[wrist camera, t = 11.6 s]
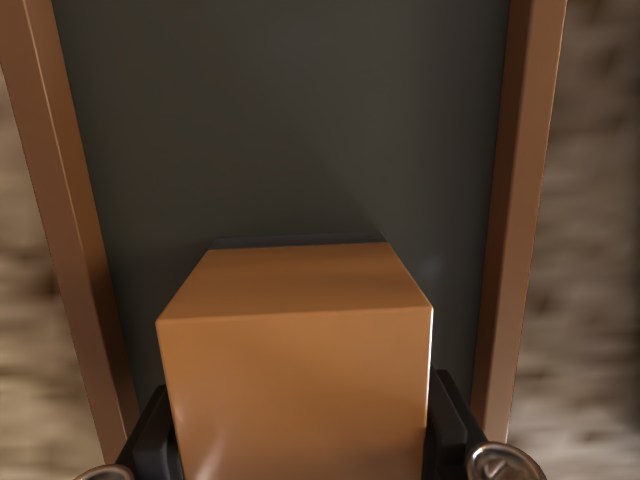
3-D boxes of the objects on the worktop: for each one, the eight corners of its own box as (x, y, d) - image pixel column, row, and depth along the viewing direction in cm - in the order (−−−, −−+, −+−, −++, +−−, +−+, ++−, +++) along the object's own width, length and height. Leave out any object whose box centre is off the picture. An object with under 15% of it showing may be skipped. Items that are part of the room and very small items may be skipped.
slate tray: (-31, -348, 8) (-154, -523, 6) (553, -349, 8) (641, -515, 6) (152, 483, 14) (125, 546, 12) (468, 463, 15) (496, 520, 13)
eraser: (215, 237, 10) (153, 320, 6) (381, 230, 10) (435, 307, 6) (243, 466, 13) (212, 643, 8) (377, 458, 13) (414, 628, 9)
